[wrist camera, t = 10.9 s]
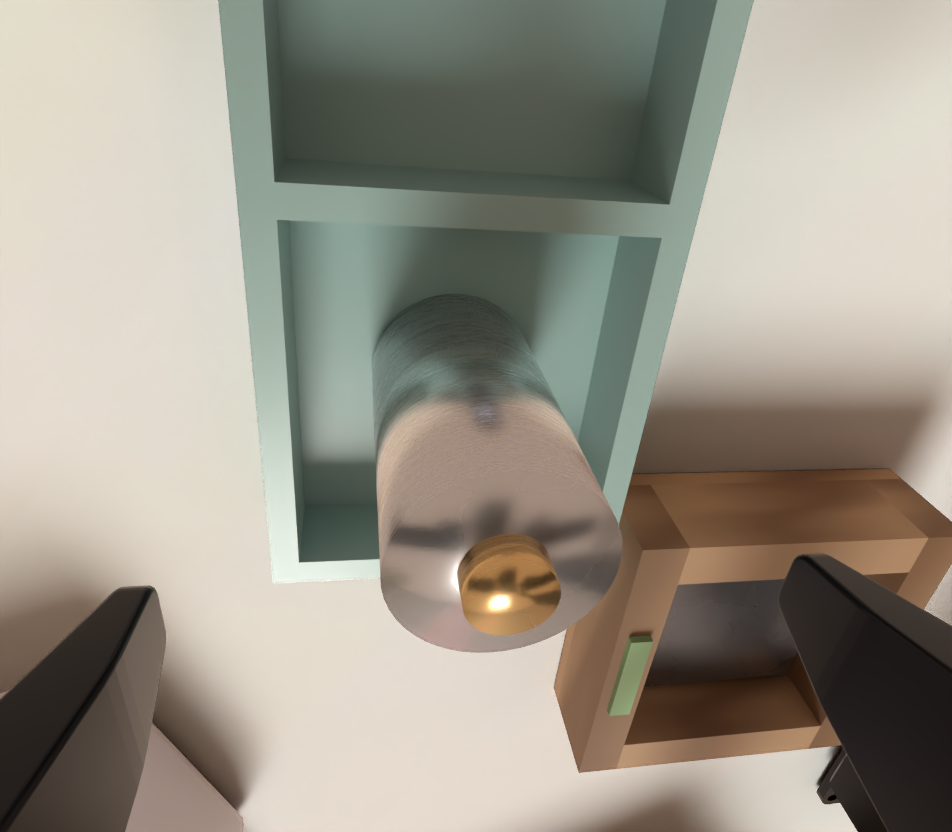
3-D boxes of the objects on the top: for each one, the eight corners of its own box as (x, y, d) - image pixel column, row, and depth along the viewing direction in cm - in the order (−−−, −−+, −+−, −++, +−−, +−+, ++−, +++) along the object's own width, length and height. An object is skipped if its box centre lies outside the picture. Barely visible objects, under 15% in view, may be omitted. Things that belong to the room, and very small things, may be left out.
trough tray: (770, -396, 10) (883, -506, 8) (579, 504, 18) (607, 567, 16) (203, -530, 8) (151, -712, 6) (282, 513, 17) (273, 583, 15)
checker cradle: (889, 468, 20) (974, 541, 17) (789, 668, 24) (844, 750, 22) (602, 475, 18) (646, 555, 15) (553, 687, 23) (580, 779, 20)
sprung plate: (836, 520, 20) (853, 538, 19) (773, 655, 23) (785, 674, 22) (648, 526, 19) (659, 546, 18) (608, 667, 22) (616, 688, 21)
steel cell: (518, 434, 16) (609, 675, 10) (370, 435, 16) (379, 693, 10) (538, 296, 14) (663, 495, 9) (372, 291, 14) (384, 503, 8)
